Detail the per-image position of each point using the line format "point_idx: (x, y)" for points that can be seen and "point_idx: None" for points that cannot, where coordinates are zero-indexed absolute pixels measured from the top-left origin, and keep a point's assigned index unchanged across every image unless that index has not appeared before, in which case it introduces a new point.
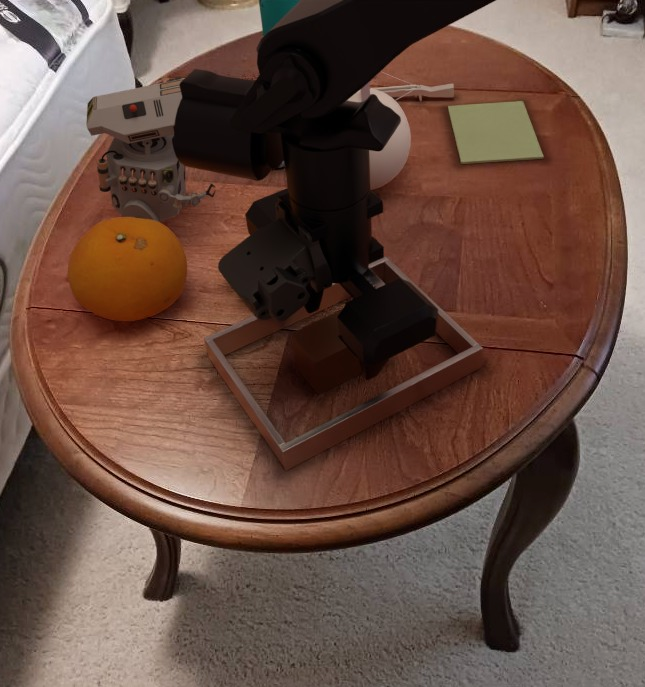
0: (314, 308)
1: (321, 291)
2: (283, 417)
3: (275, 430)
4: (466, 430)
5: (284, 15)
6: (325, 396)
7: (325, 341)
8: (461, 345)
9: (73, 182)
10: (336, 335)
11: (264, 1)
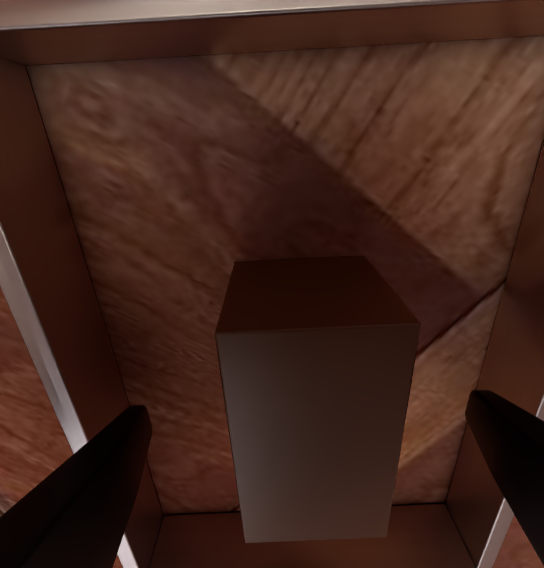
0: (475, 414)
1: (507, 492)
2: (206, 135)
3: (5, 21)
4: (21, 453)
5: None
6: (222, 275)
7: (294, 405)
8: (185, 548)
9: None
10: (299, 440)
11: None
